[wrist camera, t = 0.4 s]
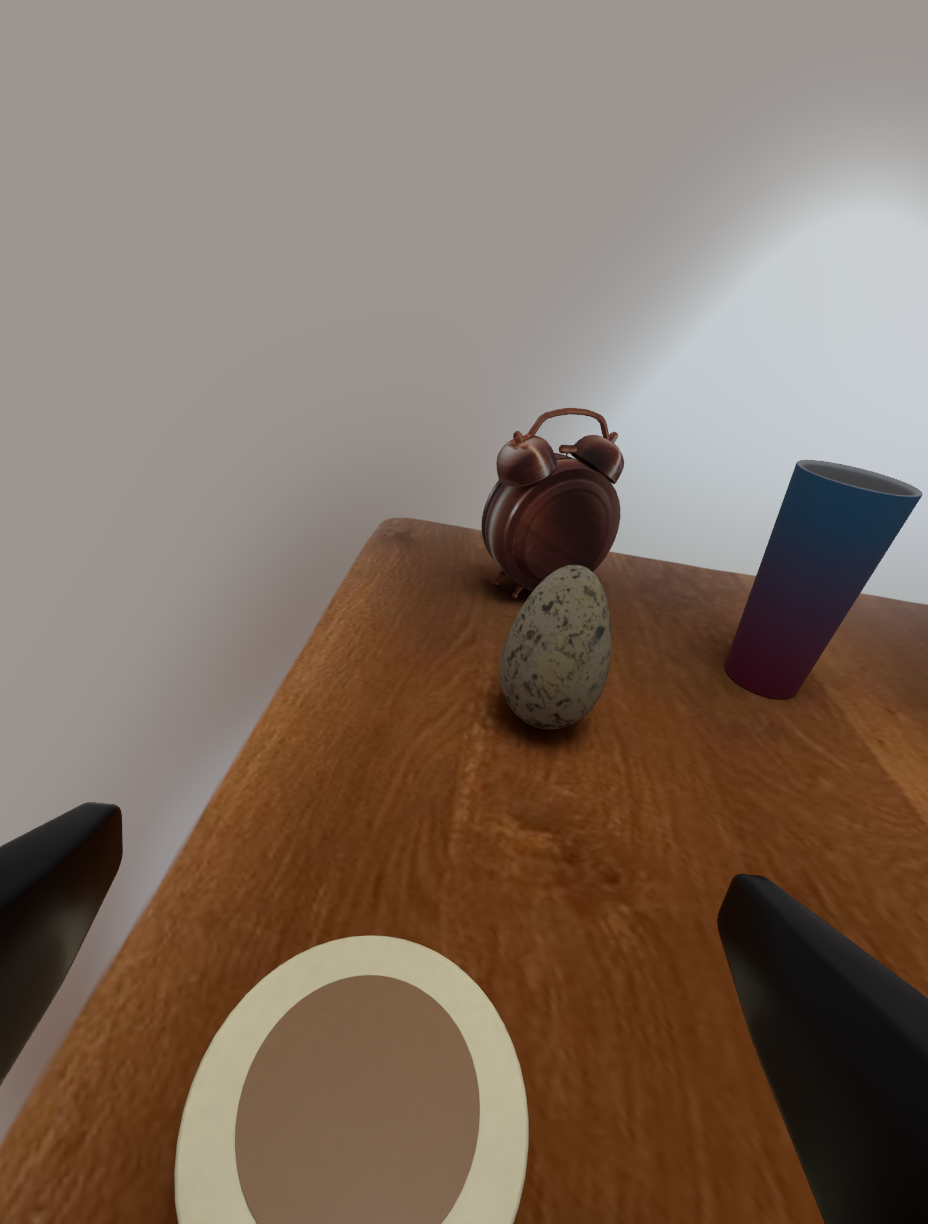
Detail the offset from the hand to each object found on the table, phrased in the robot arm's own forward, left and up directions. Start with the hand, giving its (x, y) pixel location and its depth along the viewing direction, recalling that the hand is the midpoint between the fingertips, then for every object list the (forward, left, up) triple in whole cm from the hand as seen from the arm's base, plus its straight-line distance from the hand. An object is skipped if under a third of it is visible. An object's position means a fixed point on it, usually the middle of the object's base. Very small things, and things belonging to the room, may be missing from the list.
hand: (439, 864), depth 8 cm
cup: (+30, -23, -15) cm, 40 cm away
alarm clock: (+39, -7, -15) cm, 42 cm away
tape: (+1, +1, -14) cm, 14 cm away
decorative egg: (+22, -6, -15) cm, 27 cm away
